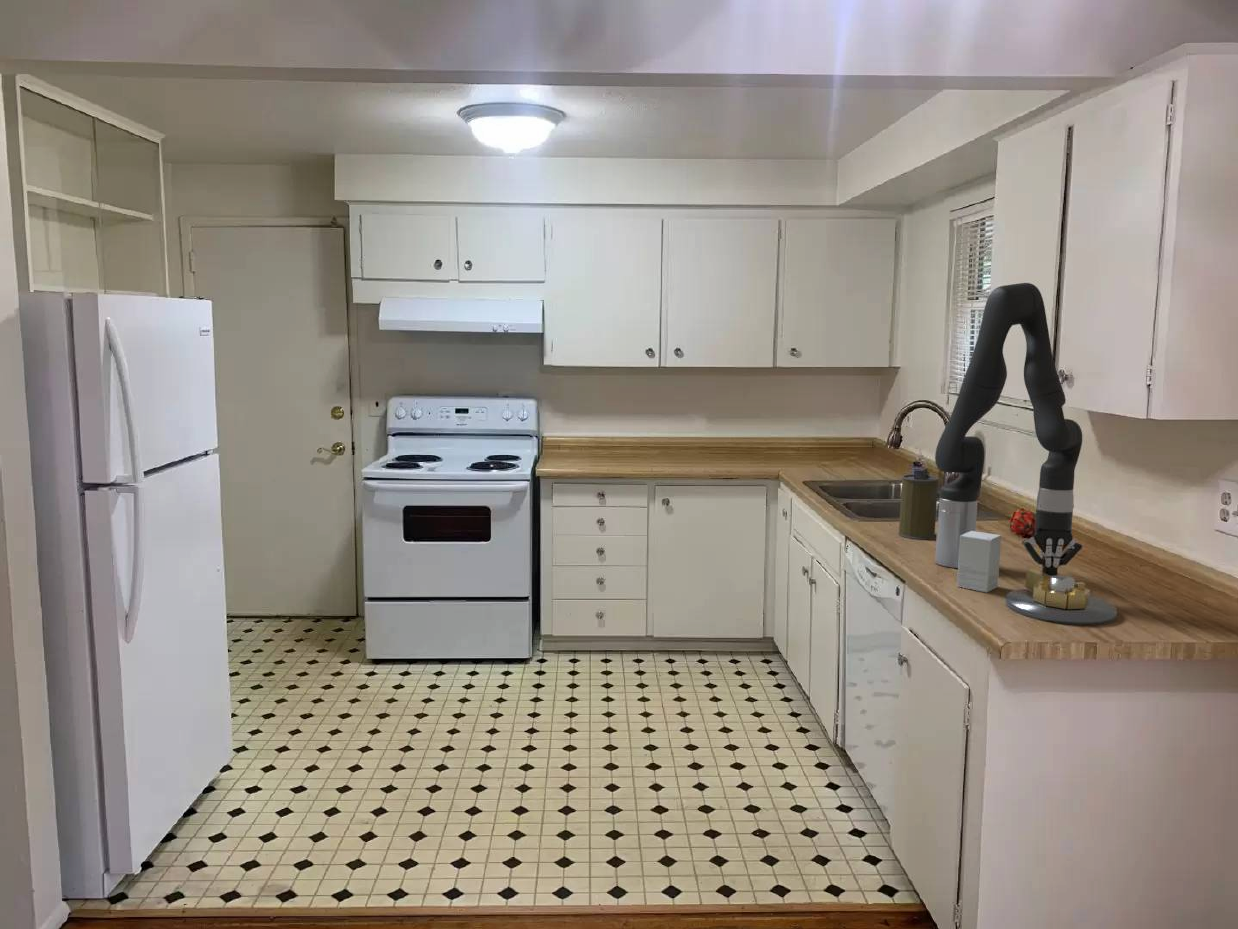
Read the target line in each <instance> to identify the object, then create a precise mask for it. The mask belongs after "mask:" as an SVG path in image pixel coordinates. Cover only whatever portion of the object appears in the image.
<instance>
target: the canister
mask: <svg viewBox="0 0 1238 929" xmlns="http://www.w3.org/2000/svg"><path fill="white" fill-rule="evenodd" d="M913 472H914V473H912V474H903V475H901V479H902V480H901V494H900V495H901V497H900V508H899V509H900V510H899V523H898V524H899V525H898V532H897V535H898V536H900V537H903V538H906V539H912V540H932V539H934V538H935V537H936V535H935V532H936V522H937V519H936V518H937V504H938V492H939V491H938V490H939V481H940V478H939V477H937V476H933V475H930V472H929V471H928V468H926V467H916V468H914V471H913Z"/></svg>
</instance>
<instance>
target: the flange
mask: <svg viewBox="0 0 1238 929" xmlns="http://www.w3.org/2000/svg"><path fill="white" fill-rule="evenodd" d="M1075 582H1076V579H1075V578H1073V577H1071V576H1067V575H1058V574H1057V575H1054V576H1051V577H1050V588H1049V590H1052V591H1058V592H1064V593H1069V591H1070V588H1074V584H1075ZM1005 606H1006V607H1007V608H1008V607H1009V608H1008V609H1010V610H1011V611H1012V612H1015V613H1017V614H1019V615H1021V616H1025V617H1028V618H1032V619H1035V620H1038V621H1042V622H1043V621H1044V622H1047V623H1048V622H1049V623H1054V624H1059V625H1061V624H1062V625H1069V626H1070V625H1071V626H1100V625H1101V626H1102V625H1107V624H1111V623H1113V622H1115V621H1116V620H1117V618H1118V617H1117V615H1118V609H1117V607H1116V606H1115V605H1113V604H1112V603H1110V602H1108V601H1106V600H1104V599H1101V598H1098V597H1094V596H1092V595H1090V596H1089V604H1088V606H1087V607H1086V608H1082V609H1063V608H1058V607H1052V606H1046V605H1043V604H1041V603H1039V602H1037V601H1035V600H1033V591H1032V590H1030V589H1028V588H1021V589H1016V590H1012V591H1009V592H1008V593H1006V595H1005Z"/></svg>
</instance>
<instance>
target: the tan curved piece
mask: <svg viewBox="0 0 1238 929" xmlns="http://www.w3.org/2000/svg"><path fill="white" fill-rule="evenodd" d="M1025 575H1026V576H1025V589H1030V590H1032V591H1033V600H1035V601H1037V602H1039V603H1041V604H1043V605H1046V606H1052V607H1058V608H1063V609H1082V608H1086V607H1087V606H1088V604H1089V596H1091V590H1090V589H1089V588H1087V587H1086V583H1085V582H1082V581H1079V582H1078V581H1075V583H1074V588H1070V591H1069V593H1064V592H1058V591H1052V590H1049V588H1050V577H1051V576H1050V575H1048V574H1045V573H1043V572H1042V570H1041V571H1040V570H1038V569H1037V568H1036V569H1032V568H1031V569H1026V574H1025Z"/></svg>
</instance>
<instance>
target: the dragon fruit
mask: <svg viewBox="0 0 1238 929" xmlns="http://www.w3.org/2000/svg"><path fill="white" fill-rule="evenodd" d="M1009 517H1010V519H1009V523H1008V525H1009V531H1010V532H1011V533H1014V534H1015V535H1016V536H1017V537H1021V538H1024V537H1025V536H1026V535H1027V536H1030V537H1032V534H1033V532H1034V530H1035V519H1036V512H1032V511H1031V509H1025V508H1019V509H1017V510H1016V511H1014V512H1012V513H1011V514H1010V516H1009Z"/></svg>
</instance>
